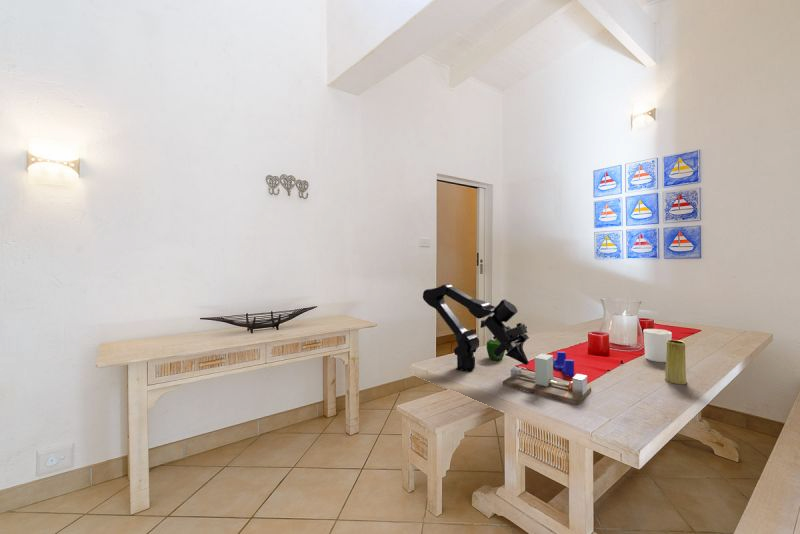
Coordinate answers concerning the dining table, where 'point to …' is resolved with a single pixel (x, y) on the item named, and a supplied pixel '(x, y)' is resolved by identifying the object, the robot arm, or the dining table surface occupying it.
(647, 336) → the white cylinder
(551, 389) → the cord board
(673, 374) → the vase
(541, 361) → the notched sage block
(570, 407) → the dining table surface
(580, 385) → the rod with end blocks
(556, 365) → the blue stepped block
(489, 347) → the bell pepper
